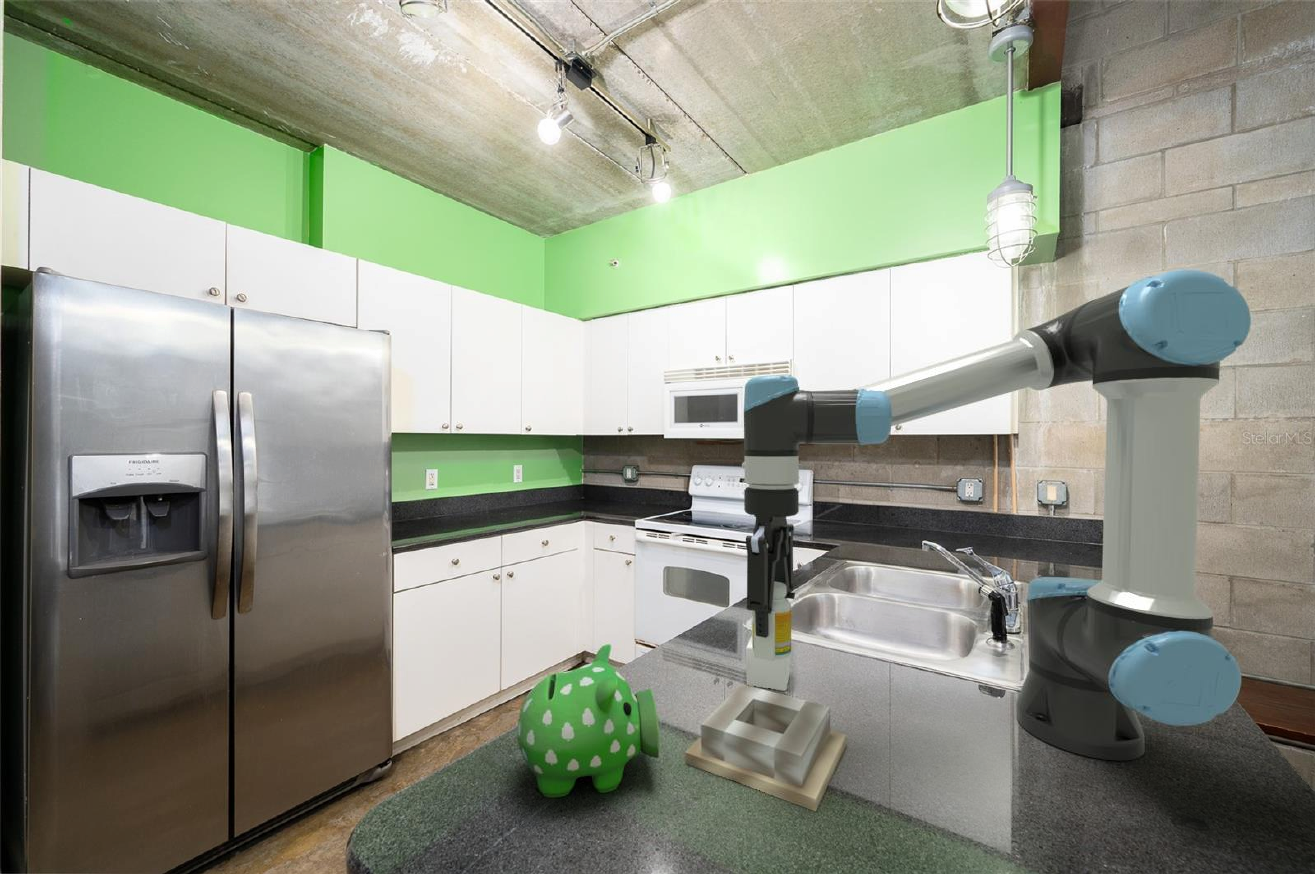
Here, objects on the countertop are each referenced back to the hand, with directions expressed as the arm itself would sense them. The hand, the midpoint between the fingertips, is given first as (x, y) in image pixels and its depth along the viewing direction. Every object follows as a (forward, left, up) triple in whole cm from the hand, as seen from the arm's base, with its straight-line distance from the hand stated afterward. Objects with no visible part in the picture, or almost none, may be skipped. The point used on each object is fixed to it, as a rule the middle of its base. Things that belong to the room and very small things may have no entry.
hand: (772, 650), depth 73 cm
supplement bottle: (0, 0, 0) cm, 0 cm away
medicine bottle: (+9, -23, -15) cm, 29 cm away
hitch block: (+1, -1, -15) cm, 15 cm away
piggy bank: (+20, +16, -15) cm, 30 cm away
